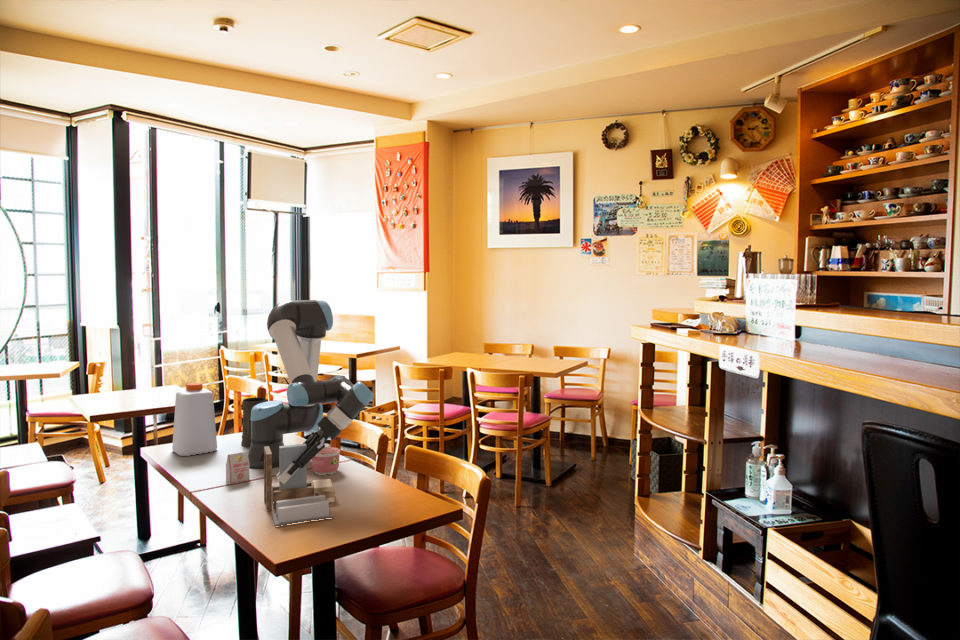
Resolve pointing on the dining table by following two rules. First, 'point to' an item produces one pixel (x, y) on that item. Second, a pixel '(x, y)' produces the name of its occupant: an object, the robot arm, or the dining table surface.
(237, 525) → the dining table surface
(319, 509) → the slot stand
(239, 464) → the tea bag
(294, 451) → the slate board
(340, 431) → the robot arm
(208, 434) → the plastic bottle
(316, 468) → the container
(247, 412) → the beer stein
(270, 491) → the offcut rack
